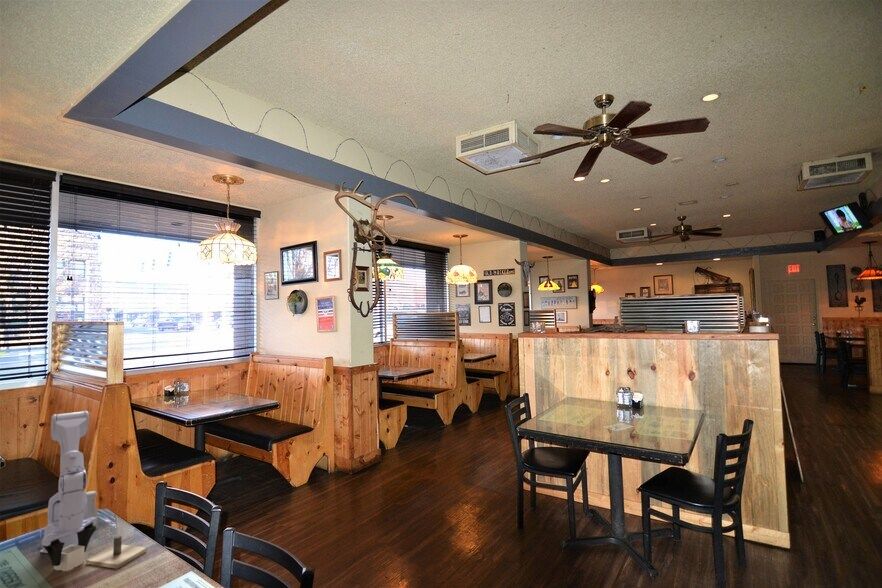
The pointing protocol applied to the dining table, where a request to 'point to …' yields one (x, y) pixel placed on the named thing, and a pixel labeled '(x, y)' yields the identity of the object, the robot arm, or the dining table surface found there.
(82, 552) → the hollow square tube
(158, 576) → the dining table surface
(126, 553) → the roll holder
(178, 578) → the dining table surface
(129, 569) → the dining table surface
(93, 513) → the salt shaker
